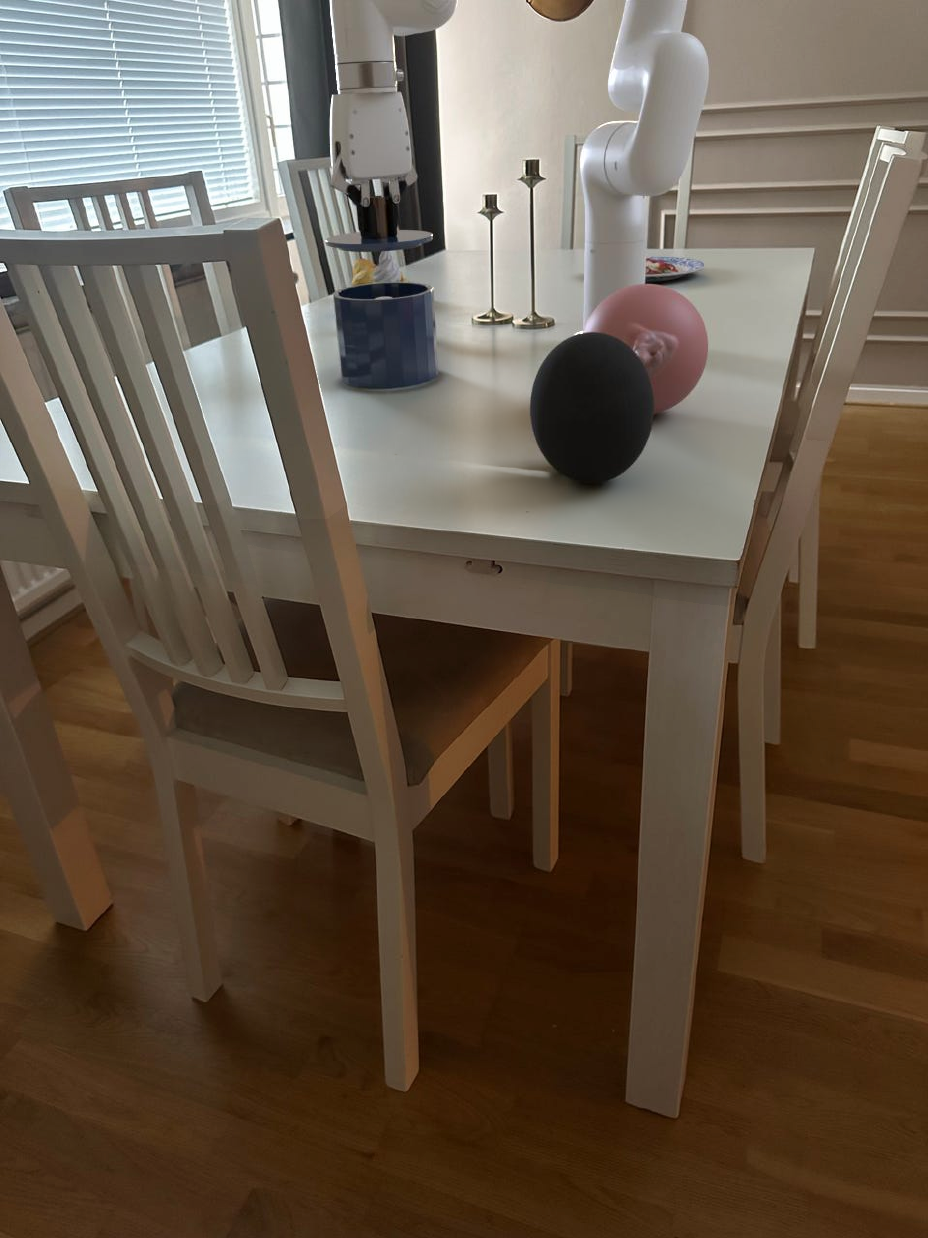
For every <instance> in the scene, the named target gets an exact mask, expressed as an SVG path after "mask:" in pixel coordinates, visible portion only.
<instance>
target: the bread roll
mask: <svg viewBox="0 0 928 1238" xmlns="http://www.w3.org/2000/svg"><path fill="white" fill-rule="evenodd" d="M377 266H378V264H375V263H374V262H372V261H370V260H369V259H366V258H364V257H361V258H359V259H357V260H355V262H354V264H353V267H352V276H353V277H352V281H351V285H350V287H351V286H356V285H363V284H371V283H374V280H375V278H374V277H373V273H374V272H375V268H376V267H377ZM399 270H400V271H401V280H400V282H410V280H408V279H407V278H404V273H403V271H402V270H401V269H399Z"/></svg>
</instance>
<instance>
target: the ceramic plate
mask: <svg viewBox="0 0 928 1238" xmlns="http://www.w3.org/2000/svg"><path fill="white" fill-rule="evenodd" d="M705 268H706V263H705V262H703V261H701V260H698V259H693V258H687V257H677V256H657V255H656V256H646V273H645V283H656V282H667V281H672V280H676V279H680V278H682V277H684V276H686V275H687V274H692V273H696V272H698V271H702V270H703V269H705Z"/></svg>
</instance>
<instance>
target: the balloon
mask: <svg viewBox="0 0 928 1238" xmlns="http://www.w3.org/2000/svg"><path fill="white" fill-rule="evenodd" d="M582 331H583V332H582V333H586V332H600V333H604V334H608V335H611V336H614V337H616V338H618V339H620V340H621V341H623V342H624V343H625V344H627V345H628V346H629V347H630V348H631V349H632V350H633V351H634V352H635V353H636V354H637V356H638V357H639V358H640V360H641V361H642V363H643V365H644V366H645V368H646V371H647V373H648V376H649V378H650V382H651V385H652V390H653V396H654V415H657V414H661V413H663V412H666V411H668V410H670V409H672V408H674V407H676V406H677V405H678V404H680V403H681V402H682V401H683V400H685V399H686V398H687V397H688V396H689V395H690V394H691V393H692V391H694V389H695V388H696V386H697V385H698V383H699V382H700V380H701V378H702V377H703V374H704V371H705V368H706V365H707V360H708V357H709V356H708V355H709V354H708V353H709V337H708V332H707V327H706V325H705V322H704V320H703V317H702V316H701V313H700V311H698V309H697V307H695V305H694V304H693V303H692V301H690V300H689V299H688V298H687V297H686V296H685V295H683V294H682V293H680V292H678V291H677V290H675V289H673V288H670V287H669V286H668V287H667V286H665V285H660V284H656V283H655V284H654V283H645V284H638V285H633V286H629V287H626V288H623V289H621V290H619V291H617V292H615V293H613V294H612V295H610V296H609V297H607V298H606V299H605V300H603V301H602V302H601V303H600V304H599V305H598V306H597V307H596V309H595V310H594V311H593V312H592V314H591V315H590V317H589V319H588V320H587V322H586V324H585V327H584V329H583V328H582Z"/></svg>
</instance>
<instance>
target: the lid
mask: <svg viewBox="0 0 928 1238" xmlns="http://www.w3.org/2000/svg"><path fill="white" fill-rule="evenodd" d="M370 206H373V207H374V212H375V225H376V237H375V238H374V239H369V238H362V237H361V234H360V231H356V232H349V233H342V234H337V235H336V234H335V235H332V236H329V237H327V238H325V245H326V246H327V247H330V248H333V249H334V248H335V249H338V250H340V251H344V252H352V253H378V252H380V253H381V251H390V252H392V251H393V252H395V251H401V250H408V249H413V248H417V247H420V246H421V245H422V244H425V243H429V242H431V241H432V240H434V237H433V236H434V235H433V233H432V232H430V231H424V230H417V229H416V230H413V229H412V230H411V229H397V236H389V233H388V220H387V206H386V196H382V195H370Z"/></svg>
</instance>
